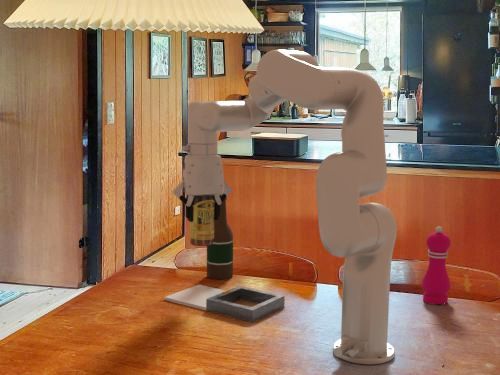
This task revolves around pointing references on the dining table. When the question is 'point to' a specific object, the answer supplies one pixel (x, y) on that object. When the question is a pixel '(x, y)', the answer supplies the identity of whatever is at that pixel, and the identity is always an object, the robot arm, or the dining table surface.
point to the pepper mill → (436, 269)
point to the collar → (251, 314)
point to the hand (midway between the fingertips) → (202, 219)
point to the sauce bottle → (202, 221)
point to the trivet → (194, 296)
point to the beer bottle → (221, 248)
